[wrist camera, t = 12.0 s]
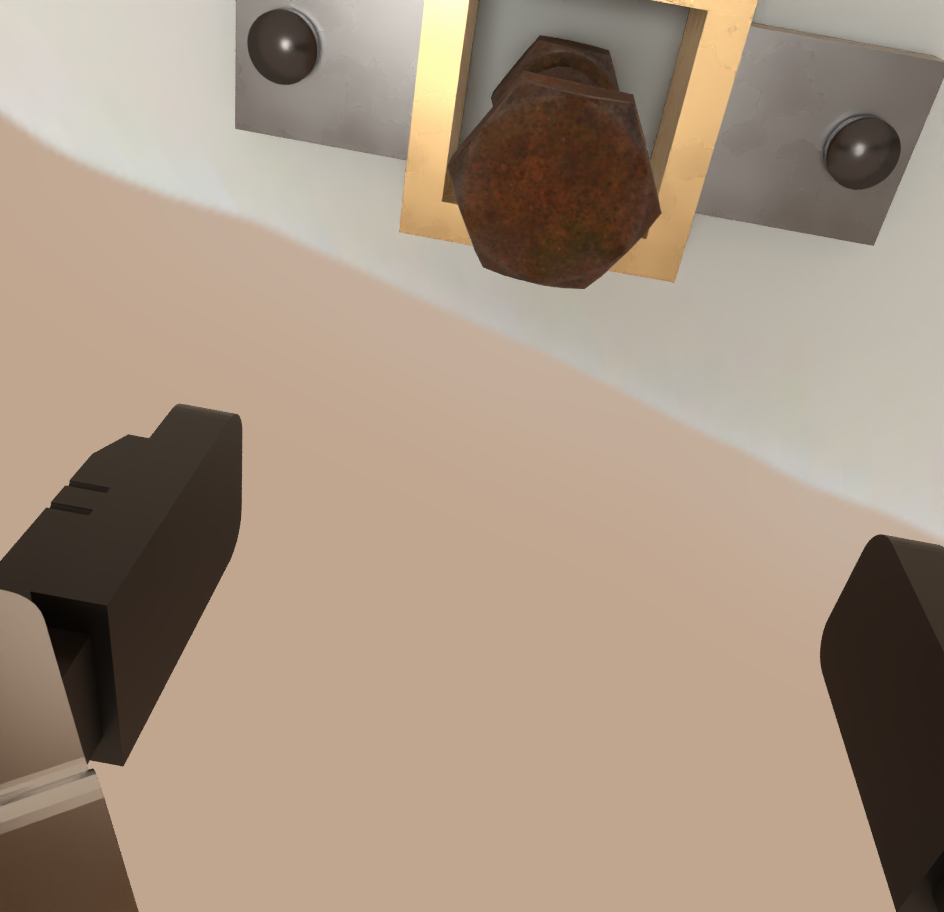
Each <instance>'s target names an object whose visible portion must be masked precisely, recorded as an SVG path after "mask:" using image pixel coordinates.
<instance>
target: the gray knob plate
mask: <svg viewBox="0 0 944 912" xmlns="http://www.w3.org/2000/svg"><path fill="white" fill-rule="evenodd" d="M943 78H944V60H942V59H940V58H938V57H936V56H932V55H926V54H921V53H915V52H910V51H904V50H899V49H894V48H888V47H883V46H877V45H872V44H866V43H861V42H855V41H850V40H845V39H839V38H834V37H828V36H823V35H817V34H812V33H806V32H801V31H796V30H790V29H785V28H779V27H774V26H768V25H763V24H757V23H752V22H751V25H750V28H749V32H748V35H747V39H746V42H745V45H744V49H743V52H742V55H741V59H740V62H739V66H738V69H737V72H736V76H735V79H734V82H733V86H732V89H731V93H730V96H729V99H728V103H727V106H726V109H725V113H724V116H723V120H722V123H721V126H720V130H719V133H718V136H717V140H716V143H715V146H714V150H713V153H712V157H711V160H710V163H709V167H708V170H707V173H706V177H705V180H704V184H703V187H702V190H701V194H700V197H699V200H698V204H697V207H696V211H695V213H698V214H704V215H709V216H715V217H720V218H725V219H731V220H736V221H742V222H747V223H753V224H758V225H764V226H769V227H775V228H780V229H785V230H791V231H796V232H802V233H807V234H813V235H818V236H824V237H829V238H835V239H840V240H846V241H851V242H856V243H862V244H867V245H873V246H874V243H875V241H876V238H877V236H878V234H879V231H880V229H881V226H882V224H883V222H884V219H885V217H886V214H887V212H888V210H889V207H890V205H891V203H892V200H893V198H894V195H895V193H896V191H897V188H898V186H899V183H900V181H901V179H902V176H903V174H904V171H905V169H906V167H907V164H908V162H909V160H910V157H911V155H912V152H913V150H914V148H915V145H916V143H917V140H918V138H919V136H920V133H921V131H922V128H923V126H924V124H925V121H926V119H927V116H928V114H929V112H930V109H931V107H932V105H933V102H934V100H935V97H936V95H937V93H938V90H939V88H940V85H941V83H942V81H943Z"/></svg>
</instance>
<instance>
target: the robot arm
mask: <svg viewBox="0 0 944 912" xmlns="http://www.w3.org/2000/svg"><path fill="white" fill-rule="evenodd" d="M241 506H242V423H241V419H240V416H239V415H238V414H234V413H228V412H223V411H217V410H212V409H206V408H201V407H196V406H190V405H184V404H177V405H176V406H174V408H172V410H171V411H170V412H169V414H168V415H167V416H166V417H165V419H164V420H163V421H162V423H161V424H160V425H159V426H158V428H157V429H156V430H155V432H154V433H153V434H152V436H151V437H150V438H144V437H138V436H133V435H127V436H125V437H123V438H121V439H119V440H117V441H115V442H114V443H112V444H110V445H108V446H106V447H104V448H103V449H101V450H99V451H97V452H95V453H93V454H92V455H91V456H90V457H89V458H88V460H87V461H86V462H85V463H84V464H83V466H82V467H81V468H80V469H79V470H78V471H77V472H76V474H75V475H74V476H73V477H72V478H71V479H70V483H69V486H64V488H63V489H62V490H61V491H60V492H59V493H58V495H57V496H56V497H55V498H54V499H53V501H52V502H51V507H50V508H46V509H45V510H44V511H43V512H42V513H41V514H40V516H39V517H38V518H37V519H36V520H35V521H34V523H33V524H32V525H31V526H30V527H29V529H27V531H26V532H25V533H24V534H23V535H22V536H21V538H20V539H19V540H18V541H17V542H16V543H15V545H14V546H13V547H12V548H11V549H10V551H9V552H8V553H7V554H6V555H5V556H4V557H3V559H2V560H1V561H0V912H139V911H138V908H137V905H136V901H135V898H134V895H133V891H132V888H131V885H130V881H129V878H128V875H127V871H126V868H125V865H124V861H123V858H122V855H121V851H120V848H119V845H118V841H117V838H116V835H115V831H114V828H113V825H112V821H111V818H110V815H109V811H108V808H107V805H106V801H105V798H104V795H103V792H102V788H101V786H100V783H99V780H98V777H97V775H96V773H95V770H94V769H90V770H89V769H88V766H87V764H88V762H89V761H90V760H92V761H97V762H102V763H109V764H114V765H119V766H124V764H125V762H126V760H127V758H128V757H129V755H130V753H131V751H132V749H133V747H134V745H135V743H136V741H137V739H138V737H139V735H140V733H141V731H142V730H143V728H144V726H145V724H146V722H147V720H148V718H149V716H150V714H151V712H152V710H153V708H154V706H155V704H156V702H157V701H158V699H159V696H160V695H161V693H162V691H163V689H164V687H165V685H166V683H167V681H168V679H169V677H170V675H171V673H172V672H173V669H174V668H175V666H176V664H177V662H178V660H179V658H180V656H181V654H182V652H183V650H184V648H185V646H186V644H187V642H188V640H189V639H190V637H191V635H192V633H193V631H194V629H195V627H196V625H197V623H198V621H199V619H200V618H201V616H202V613H203V612H204V610H205V608H206V606H207V604H208V602H209V600H210V598H211V596H212V594H213V592H214V591H215V589H216V587H217V585H218V583H219V581H220V579H221V577H222V575H223V573H224V571H225V569H226V567H227V565H228V563H229V561H230V559H231V557H232V554H233V552H234V548H235V545H236V542H237V538H238V534H239V529H240V521H241V509H242V507H241ZM820 661H821V669H822V673H823V677H824V680H825V683H826V686H827V690H828V693H829V696H830V699H831V703H832V706H833V709H834V712H835V715H836V719H837V722H838V725H839V728H840V732H841V735H842V738H843V741H844V744H845V748H846V751H847V754H848V758H849V761H850V764H851V767H852V770H853V774H854V777H855V780H856V783H857V787H858V790H859V793H860V796H861V800H862V803H863V806H864V809H865V812H866V815H867V819H868V822H869V825H870V828H871V832H872V835H873V838H874V841H875V845H876V848H877V851H878V854H879V857H880V861H881V864H882V867H883V870H884V874H885V877H886V880H887V883H888V887H889V890H890V893H891V896H892V900H893V903H894V906H895V909H896V912H944V547H943V546H940V545H936V544H931V543H925V542H920V541H914V540H909V539H904V538H898V537H893V536H887V535H876V536H874V537H873V538H872V539H871V540H870V541H869V542H868V543H867V545H866V546H865V548H864V550H863V552H862V554H861V556H860V558H859V559H858V562H857V563H856V566H855V567H854V569H853V571H852V573H851V575H850V577H849V579H848V581H847V583H846V585H845V587H844V589H843V591H842V593H841V595H840V597H839V599H838V601H837V603H836V605H835V607H834V609H833V610H832V612H831V614H830V617H829V618H828V620H827V623H826V625H825V628H824V631H823V635H822V640H821V648H820Z"/></svg>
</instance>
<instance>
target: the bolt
mask: <svg viewBox="0 0 944 912" xmlns="http://www.w3.org/2000/svg"><path fill="white" fill-rule="evenodd" d="M491 99H492V103H493V107H492V109H491V110H490V111H489V112H488V113H487V115H486V116H485V117H484V118H483V119H482V121H481V122H480V123H479V124H478V125H477V126H476V128H475V129H474V130H473V131H472V132H471V134H470V135H469V136H468V137H467V138H466V140H465V141H464V142H463V143H462V144H461V146H460V147H459V148H458V149H457V150H456V152H455V153H454V154H453V155H452V157H451V159H450V161H449V164H448V166H447V167H448V171H449V175H450V179H451V183H452V187H453V191H454V194H455V197H456V200H457V204H458V207H459V210H460V213H461V215H462V218H463V221H464V223H465V226H466V229H467V231H468V234H469V237H470V239H471V242H472V244H473V247H474V250H475V252H476V254H477V256H478V258H479V260H480V262H481V264H482V266H483V267H484V268H486V269H489V270H491V271H494V272H497V273H499V274H502V275H504V276H508V277H512V278H515V279H519V280H523V281H527V282H531V283H535V284H539V285H544V286H551V287H559V288H574V289H585V288H586V287H588V286H589V285H590V284H592V283H593V282H594V281H596V280H597V279H599V278H600V277H601V276H602V275H603V274H604V273H605V272H607V271H608V270H609V269H610V268H611V267H612V266H613V265H614V264H615V263H616V262H617V261H619V260H620V259H621V258H622V257H623V256H624V255H625V254H626V253H627V252H628V251H629V250H630V249H631V248H632V247H633V246H634V245H635V244H636V243H637V242H638V241H639V240H640V239H641V238H642V236H643V235H644V234H645V233H646V232H647V231H648V229H649V228H650V227H651V226H652V225H653V223H654V222H655V221H656V220H657V218H658V217H659V216H660V215H661V213H662V212H661V208H660V203H659V198H658V194H657V190H656V185H655V181H654V177H653V173H652V169H651V165H650V161H649V157H648V152H647V148H646V144H645V140H644V136H643V131H642V127H641V123H640V120H639V116H638V112H637V108H636V104H635V100H634V96H633V94H628V93H624V92H619V88H618V84H617V80H616V76H615V72H614V68H613V64H612V60H611V56H610V52H609V50H605V49H602V48H598V47H595V46H591V45H587V44H583V43H578V42H574V41H569V40H564V39H559V38H554V37H547V36H541V35H540V36H539V37H538V38H537V39H536V41H535V42H534V43H533V44H532V45H531V46H530V47H529V48H528V50H527V51H526V52H525V53H524V54H523V56H522V57H521V58H520V59H519V60H518V62H517V63H516V64H515V65H514V66H513V68H512V69H511V70H510V71H509V72H508V74H507V75H506V76H505V77H504V79H503V80H502V81H501V83H500V84H499V85H498V86H497V88H496V89H495V90H494V91H493V94H492V97H491Z"/></svg>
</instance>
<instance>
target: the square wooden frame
mask: <svg viewBox="0 0 944 912" xmlns="http://www.w3.org/2000/svg"><path fill="white" fill-rule="evenodd" d="M653 1H659V2H664V3H670V4H675V5H680V6H686V7H690V11H689V15H688V19H687V23H686V27H685V30H684V34H683V38H682V42H681V46H680V50H679V54H678V57H677V61H676V65H675V69H674V73H673V77H672V80H671V84H670V88H669V92H668V96H667V100H666V104H665V107H664V111H663V115H662V119H661V123H660V127H659V130H658V134H657V138H656V142H655V146H654V150H653V154H652V157H651V161H650V165H651V169H652V173H653V177H654V181H655V185H656V190H657V194H658V198H659V203H660V208H661V212H662V213H661V215H660V216H659V217H658V218H657V220H656V221H655V222H654V223H653V225H652V226H651V227H650V228H649V229H648V231H647V232H646V233H645V234H644V235H643V236H642V238H641V239H640V240H639V241H638V242H637V243H636V244H635V245H634V246H633V247H632V248H631V249H630V250H629V251H628V252H627V253H626V254H625V255H624V256H623V257H622V258H621V259H620V260H619V261H617V262H616V263H615V264H614V265H613V266H612V267H611V268H610V269H609V271H614V272H620V273H625V274H630V275H636V276H641V277H647V278H652V279H658V280H663V281H669V282H674V281H675V278H676V275H677V271H678V268H679V265H680V261H681V258H682V254H683V251H684V248H685V244H686V241H687V238H688V234H689V231H690V227H691V224H692V221H693V217H694V214H695V211H696V207H697V204H698V200H699V197H700V194H701V190H702V187H703V184H704V180H705V177H706V173H707V170H708V167H709V163H710V160H711V157H712V153H713V150H714V146H715V143H716V140H717V136H718V133H719V130H720V126H721V123H722V120H723V116H724V113H725V109H726V106H727V103H728V99H729V96H730V93H731V89H732V86H733V82H734V79H735V76H736V72H737V69H738V66H739V62H740V59H741V55H742V52H743V49H744V45H745V42H746V39H747V35H748V32H749V28H750V25H751V22H752V18H753V15H754V12H755V8H756V5H757V1H758V0H653ZM478 3H479V0H425V3H424V12H423V21H422V30H421V39H420V48H419V57H418V66H417V75H416V84H415V93H414V102H413V112H412V121H411V130H410V139H409V148H408V157H407V166H406V175H405V184H404V193H403V202H402V211H401V220H400V229H399V232H401V233H406V234H412V235H417V236H423V237H428V238H434V239H439V240H445V241H450V242H456V243H461V244H467V245H472V246H473V244H472V242H471V239H470V237H469V234H468V231H467V229H466V226H465V223H464V221H463V218H462V215H461V213H460V210H459V207H458V204H457V200H456V197H455V194H454V191H453V187H452V183H451V179H450V175H449V171H448V167H447V166H448V164H449V161H450V159H451V157H452V155H453V154H454V153H455V152H456V150H457V149H458V145H459V138H460V131H461V124H462V116H463V109H464V102H465V95H466V88H467V81H468V74H469V67H470V60H471V53H472V46H473V38H474V31H475V24H476V17H477V10H478Z"/></svg>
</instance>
